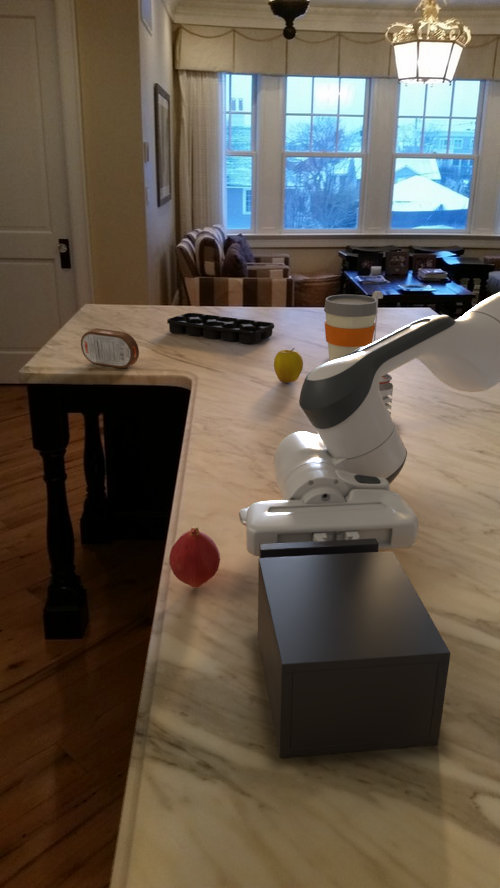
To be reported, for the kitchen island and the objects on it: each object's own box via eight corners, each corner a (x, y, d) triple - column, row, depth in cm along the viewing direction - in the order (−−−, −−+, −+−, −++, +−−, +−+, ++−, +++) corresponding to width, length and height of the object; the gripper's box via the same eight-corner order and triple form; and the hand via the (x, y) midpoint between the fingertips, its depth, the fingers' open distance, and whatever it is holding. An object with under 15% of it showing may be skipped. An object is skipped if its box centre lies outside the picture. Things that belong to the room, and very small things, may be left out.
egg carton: (182, 323, 207) (181, 311, 206) (280, 331, 199) (280, 317, 198) (157, 337, 192) (156, 324, 190) (262, 346, 184) (263, 332, 182)
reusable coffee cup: (311, 360, 171) (313, 298, 165) (345, 351, 179) (348, 292, 173) (350, 371, 163) (354, 307, 157) (384, 362, 170) (389, 299, 164)
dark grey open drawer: (257, 600, 78) (258, 538, 75) (368, 593, 80) (372, 532, 77) (277, 702, 64) (279, 630, 61) (412, 692, 65) (420, 621, 62)
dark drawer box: (257, 638, 74) (258, 558, 70) (386, 630, 75) (393, 550, 71) (279, 758, 59) (281, 664, 55) (438, 744, 61) (450, 652, 57)
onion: (161, 584, 83) (157, 524, 80) (200, 567, 86) (199, 509, 83) (189, 606, 79) (187, 544, 76) (230, 587, 82) (229, 527, 79)
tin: (140, 367, 165) (138, 332, 162) (133, 371, 163) (130, 335, 159) (88, 360, 171) (85, 326, 168) (80, 363, 169) (77, 328, 165)
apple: (303, 386, 152) (304, 350, 149) (274, 386, 152) (274, 350, 149) (301, 377, 158) (302, 343, 155) (273, 377, 158) (273, 343, 155)
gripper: (237, 484, 87) (248, 541, 74) (398, 477, 89) (437, 531, 76) (237, 529, 89) (248, 592, 77) (394, 521, 91) (431, 581, 79)
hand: (344, 561), depth 76 cm, fingers closed, pressing on dark grey open drawer
